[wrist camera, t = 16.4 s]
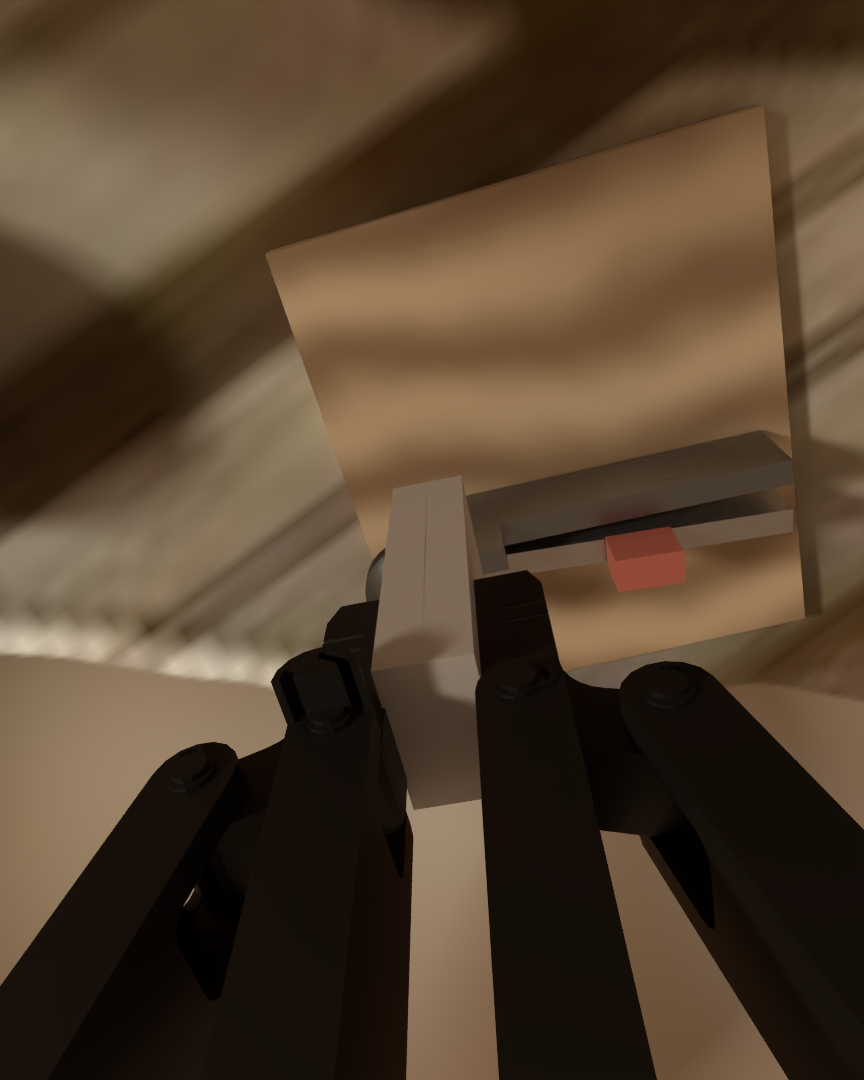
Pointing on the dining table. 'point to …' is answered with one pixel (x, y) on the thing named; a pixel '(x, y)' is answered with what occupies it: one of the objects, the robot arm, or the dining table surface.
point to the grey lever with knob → (616, 494)
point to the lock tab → (645, 559)
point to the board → (566, 356)
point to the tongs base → (689, 525)
